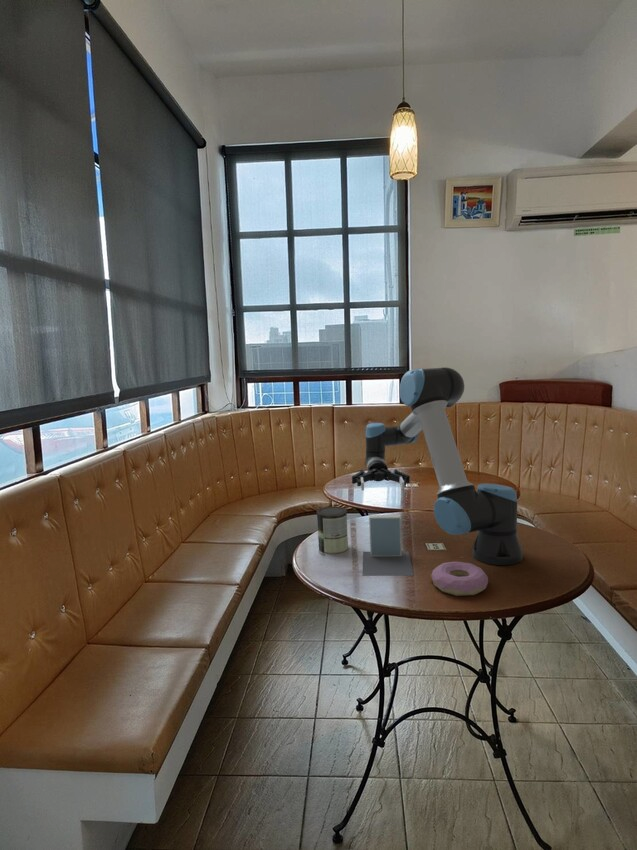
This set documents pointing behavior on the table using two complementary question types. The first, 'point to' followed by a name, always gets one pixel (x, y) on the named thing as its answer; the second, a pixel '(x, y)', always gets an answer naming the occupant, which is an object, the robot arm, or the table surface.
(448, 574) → the donut
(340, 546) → the coffee can
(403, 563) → the mat
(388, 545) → the tile
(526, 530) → the table surface
